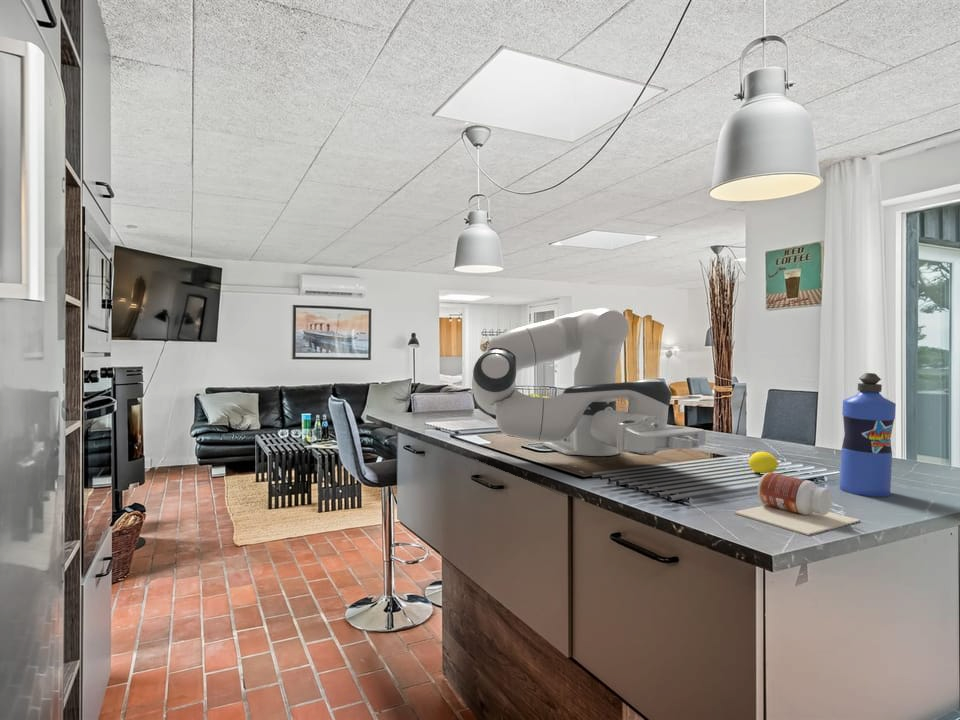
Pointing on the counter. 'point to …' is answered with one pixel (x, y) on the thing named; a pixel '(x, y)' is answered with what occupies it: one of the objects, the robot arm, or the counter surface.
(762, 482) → the pill bottle
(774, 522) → the mat
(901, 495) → the counter surface
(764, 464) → the lemon
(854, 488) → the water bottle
